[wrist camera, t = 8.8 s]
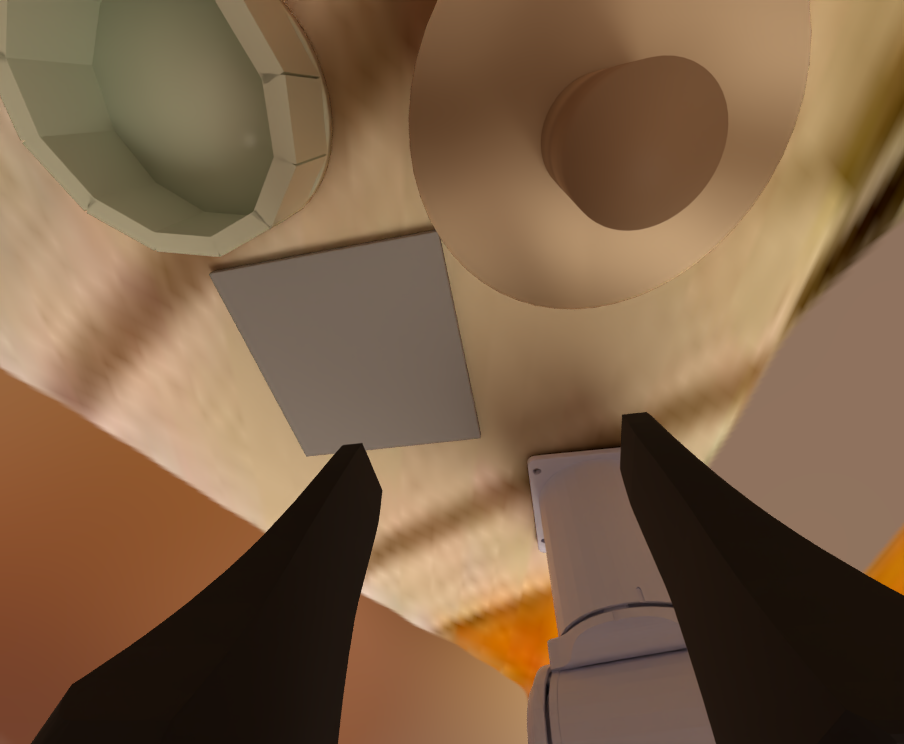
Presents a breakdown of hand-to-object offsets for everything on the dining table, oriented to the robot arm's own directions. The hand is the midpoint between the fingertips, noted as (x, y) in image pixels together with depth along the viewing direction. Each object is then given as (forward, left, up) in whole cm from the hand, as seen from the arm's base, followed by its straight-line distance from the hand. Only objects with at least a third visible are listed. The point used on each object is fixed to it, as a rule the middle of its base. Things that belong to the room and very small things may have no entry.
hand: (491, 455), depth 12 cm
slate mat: (-2, +7, -10) cm, 12 cm away
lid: (+7, -4, -6) cm, 10 cm away
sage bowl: (+10, +9, -10) cm, 17 cm away
